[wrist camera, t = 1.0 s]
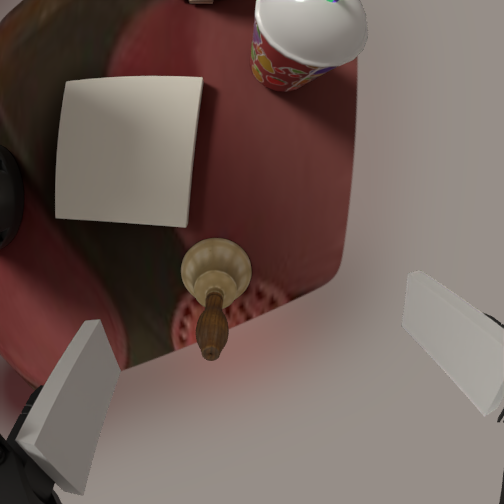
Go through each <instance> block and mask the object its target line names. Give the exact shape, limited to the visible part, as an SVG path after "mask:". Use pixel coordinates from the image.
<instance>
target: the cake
mask: <svg viewBox="0 0 504 504" xmlns="http://www.w3.org/2000/svg"><path fill="white" fill-rule="evenodd" d="M189 3H190V4H213V0H189Z"/></svg>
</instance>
